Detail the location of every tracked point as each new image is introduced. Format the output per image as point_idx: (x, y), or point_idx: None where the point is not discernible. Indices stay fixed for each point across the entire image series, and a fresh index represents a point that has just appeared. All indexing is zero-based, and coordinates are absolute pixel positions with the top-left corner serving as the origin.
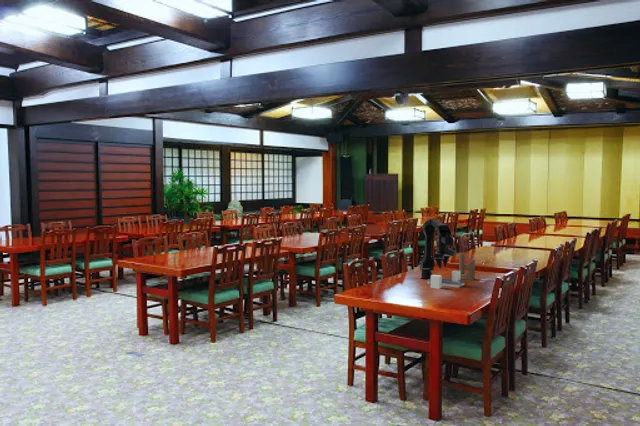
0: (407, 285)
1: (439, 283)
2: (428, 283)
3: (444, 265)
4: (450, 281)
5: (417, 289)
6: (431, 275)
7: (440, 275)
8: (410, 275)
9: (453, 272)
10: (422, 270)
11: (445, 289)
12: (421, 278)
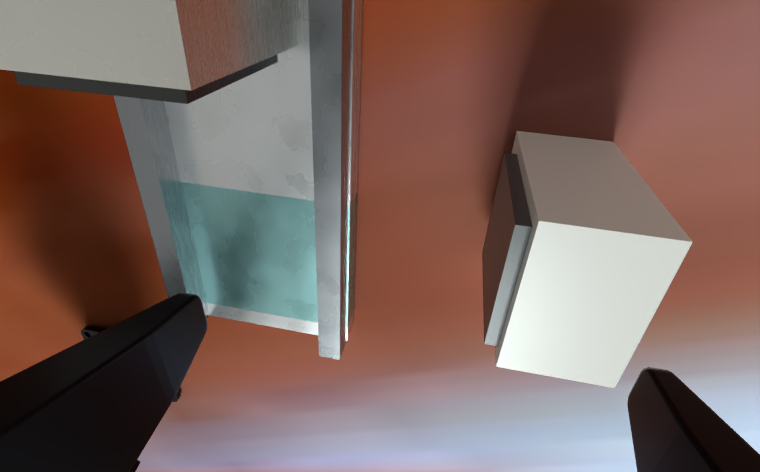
0: (531, 446)
1: (632, 173)
2: (352, 315)
3: (191, 346)
4: (164, 104)
5: (740, 359)
6: (602, 378)
7: (540, 246)
8: None
9: (190, 23)
10: (136, 460)
11: (647, 36)
12: (178, 392)
